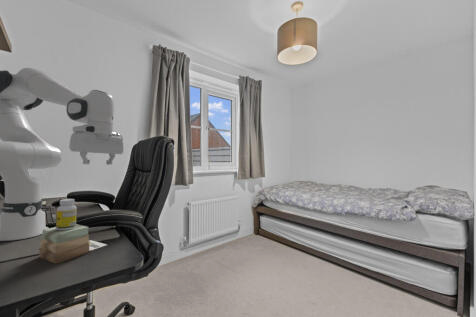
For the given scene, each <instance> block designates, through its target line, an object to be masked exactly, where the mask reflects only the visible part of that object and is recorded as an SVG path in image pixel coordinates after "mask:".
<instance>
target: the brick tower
mask: <svg viewBox="0 0 476 317" xmlns="http://www.w3.org/2000/svg"><path fill="white" fill-rule="evenodd" d="M89 241H90V235H89V226H86V225H82V224H77V223H76V227H75V228H73V229H69V230H57V229H56V226H54V227H50V228H48V229H44V230H43V233H42V234H41V239H40V247H39V248H38V250H39V252H38V258H40V259H42V260H45V261H47V262H51V263H53V264H60V263H63V262H65V261H69V260H71V259H74V258H77V257H80V256H83V255H86V254H90V251H89Z"/></svg>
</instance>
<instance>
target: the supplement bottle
mask: <svg viewBox="0 0 476 317" xmlns="http://www.w3.org/2000/svg"><path fill="white" fill-rule="evenodd" d="M74 204H75V198H62V199H61V200H59V206H58V207H57V209H56V224H55V227H56V229H57V230H69V229H73V228H75V227H76V224H77V212H78V211H77V209H78V208H77V206H76V205H74Z"/></svg>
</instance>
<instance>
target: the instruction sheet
mask: <svg viewBox="0 0 476 317" xmlns="http://www.w3.org/2000/svg"><path fill="white" fill-rule="evenodd" d="M106 246H108V244H106V243H102V242H99V241H96V240H91V239H89V252H91V251H95V250H97V249H100V248H104V247H106Z"/></svg>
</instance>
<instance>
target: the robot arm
mask: <svg viewBox="0 0 476 317" xmlns="http://www.w3.org/2000/svg"><path fill="white" fill-rule="evenodd" d="M44 101H45V102H47V103H51V104H56V105H59V106H63V107H66V110H65V111H66V114H67V116H68V118H69V119H70V120H72V121H75V122H78V123H82V124H83V125H76V126H73V127H72V134H71V135H70V139H69V146H68V147H69V150H70V151H71V152H74V153H75V152H76V153H77V152H79V156H80V157H81V159H82V164H83V165H90V159H88V157H87V156H88V153H90V154H91V153H93V154H94V153H95V154H108V156H109V157H108V159H107V160H106V165H113V161H114V159H115V157H116V155H122V154H124V140H123V139H124V138H123V136H122V135H121V134H120V133H116V132H113V128H114V127H113V126H114V122H113V120H114V112H115V111H114V110H115V109H114V107H115V106H114V105H115V104H114V98H113V96H112V95H111V94H110V93H108V92H105V91H102V90H98V89H92V90H90V91H89V92H88V94H86V95H83V96H81V95H79V94H77V93H76V92H74V91H73V90H72V89H70V88H69V87H67V86H66V85H64V84H63V83H61V82H60V81H58V80H57V79H56V78H54V77H53V76H51V75H50V74H48V73H45V72H43V71H41V70H40V69H35V68H31V67H24V68H22V69H20V70H19V71H18V72H17V73H15V74H13V73H11V72H9V70H0V140H1V141H0V177H1V178H2V180H3V183H4V202H3V203H2V205H1V212H0V242H3V241H4V242H5V241H7V242H8V241H17V240H25V239H29V238H33V237H38V236H40V235H42V233H43V230H44V229H48V228H49V227H48V226H46V212H45V211H43V210H42V208H43V204H44V203H43V200H42V194H43V193H42V192H43V191H42V190H43V189H42V188H43V184H42V182H41V181H40V180H39V179H38V178H35V177H32V176H31V174H29V170H30V169H31V170H32V169H35V170H37V169H50V168H53V167H57V166H58V165H59V164H60V163H61V161H62V157H63V155H62V152H61V150H60V148H58V147H56V146H54V145H51V144H50V143H48V142H47V141H45V139H42V137H41V136H39V135H38V134H37V133H36V131H34V130H33V128H32V126H31V125H30V123H29V121H28V118H27V117H26V115H25V113H24V111H29V110H32V109H34V108H37V107H39V106H40V105H41V104H42V103H43V102H44Z"/></svg>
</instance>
